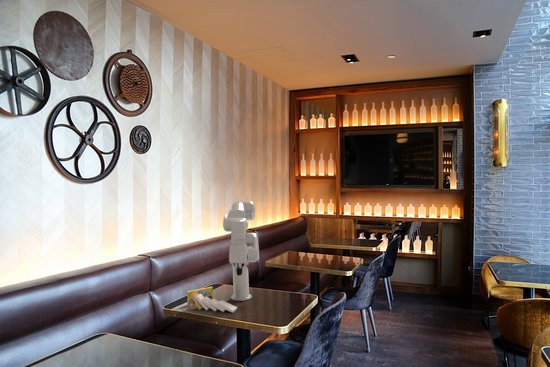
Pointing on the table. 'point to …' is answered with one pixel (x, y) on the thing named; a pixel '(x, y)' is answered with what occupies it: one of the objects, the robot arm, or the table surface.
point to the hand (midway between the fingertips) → (239, 274)
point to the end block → (191, 304)
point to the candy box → (202, 292)
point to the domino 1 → (196, 300)
